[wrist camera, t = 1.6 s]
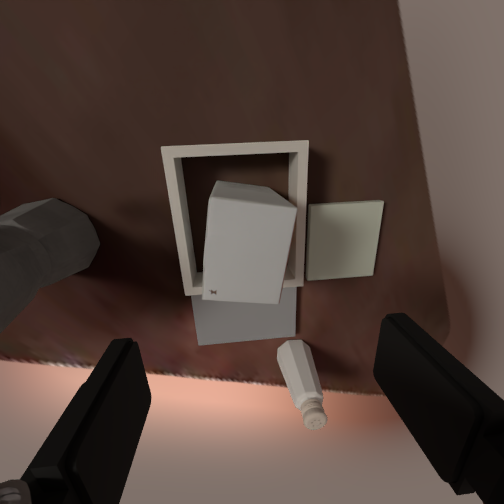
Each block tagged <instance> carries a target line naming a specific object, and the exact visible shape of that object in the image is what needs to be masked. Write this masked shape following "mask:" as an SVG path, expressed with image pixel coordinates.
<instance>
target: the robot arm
mask: <svg viewBox="0 0 504 504" xmlns="http://www.w3.org/2000/svg"><path fill="white" fill-rule="evenodd" d="M373 373H374V377H375V379H376V381H377V383H378V384H379V386H380V387H381V389H382V390H383V392H384V393H385V395H386V396H387V398H388V399H389V401H390V402H391V404H392V405H393V407H394V408H395V410H396V411H397V413H398V414H399V416H400V417H401V419H402V420H403V422H404V423H405V425H406V426H407V428H408V429H409V431H410V432H411V434H412V435H413V437H414V438H415V440H416V442H417V443H418V445H419V446H420V448H421V449H422V451H423V452H424V454H425V455H426V457H427V458H428V459H429V461H430V463H431V464H432V466H433V467H434V469H435V470H436V472H437V473H438V475H439V476H440V477H441V479H442V480H443V481H445V482H447V483H449V484H450V486H451V487H452V489H453V490H454V492H455V493H456V495H462V494H469V493H474V492H475V491H476V493H477V495H478V496H479V497H480V499H481V500H482V501H483V504H504V400H503V399H501V398H500V397H499V396H498V395H497V394H496V393H494V391H492V390H491V389H490V388H489V387H488V386H487V385H486V384H484V383H483V382H482V381H481V380H480V379H479V378H478V377H476V376H475V375H474V374H473V373H472V372H471V371H470V370H469V369H467V368H466V367H465V366H464V365H463V364H462V363H461V362H459V361H458V360H457V359H456V358H455V357H454V356H452V354H450V353H449V352H448V351H447V350H446V349H445V348H444V347H442V346H441V345H440V344H439V343H438V342H437V341H436V340H434V339H433V338H432V337H431V336H430V335H429V334H428V333H427V332H425V331H424V330H423V329H422V328H421V327H420V326H419V325H417V324H416V323H415V322H414V321H413V320H412V319H411V318H409V317H408V316H407V315H406V314H404V313H394V314H387V315H386V317H385V318H384V319H382V322H381V328H380V334H379V340H378V346H377V351H376V357H375V363H374V369H373ZM150 404H151V392H150V388H149V385H148V381H147V377H146V373H145V369H144V365H143V361H142V358H141V354H140V350H139V346H138V343H137V342H133V340H132V339H131V338H123V339H114V340H113V341H112V342H111V343H110V345H109V346H108V348H107V349H106V351H105V352H104V354H103V356H102V357H101V359H100V360H99V362H98V363H97V365H96V367H95V368H94V370H93V371H92V373H91V375H90V376H89V377H88V379H87V381H86V382H85V383H84V384H82V386H81V387H80V388H79V390H78V391H77V393H76V394H75V396H74V397H73V399H72V400H71V402H70V403H69V405H68V406H67V408H66V409H65V411H64V412H63V414H62V416H61V417H60V419H59V420H58V422H57V423H56V425H55V426H54V428H53V429H52V431H51V432H50V434H49V436H48V437H47V439H46V440H45V442H44V443H43V445H42V447H41V448H40V449H39V451H38V452H37V454H36V456H35V457H34V459H33V460H32V462H31V463H30V465H29V466H28V468H27V469H26V471H25V473H24V474H23V476H22V477H21V479H17V480H8V481H5V482H2V483H0V504H119V502H120V499H121V496H122V493H123V490H124V487H125V483H126V480H127V477H128V474H129V471H130V468H131V465H132V461H133V458H134V455H135V452H136V449H137V445H138V443H139V439H140V436H141V433H142V430H143V427H144V424H145V421H146V417H147V414H148V411H149V408H150Z"/></svg>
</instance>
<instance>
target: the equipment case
mask: <svg viewBox="0 0 504 504" xmlns="http://www.w3.org/2000/svg"><path fill="white" fill-rule="evenodd" d="M308 147H309V140H303V141H279V142H256V143H233V144H210V145H186V146H163V147H161V151H162V157H163V164H164V170H165V176H166V182H167V188H168V194H169V200H170V206H171V212H172V218H173V224H174V231H175V237H176V243H177V249H178V255H179V261H180V267H181V273H182V279H183V285H184V291H185V296H189V295H191V299H192V306H193V312H194V319H195V325H196V332H197V338H198V345H208V344H218V343H229V342H239V341H250V340H260V339H270V338H281V337H291V336H295V327H296V289H297V287H298V286H303V280H304V253H305V227H306V200H307V174H308ZM286 152H289V197H288V202H290V203H291V204H293V205H294V206H295V207H297V208H298V211H297V216H296V221H295V226H294V232H293V237H292V242H291V247H290V252H289V257H288V265H287V267H286V273H285V277H284V283H283V288H282V293H281V298H280V303H279V304H263V303H246V302H229V301H215V300H202V285H203V272H197V269H196V262H195V255H194V248H193V241H192V233H191V226H190V219H189V212H188V205H187V197H186V190H185V183H184V176H183V168H182V161H181V157H199V156H221V155H243V154H264V153H286Z"/></svg>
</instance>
